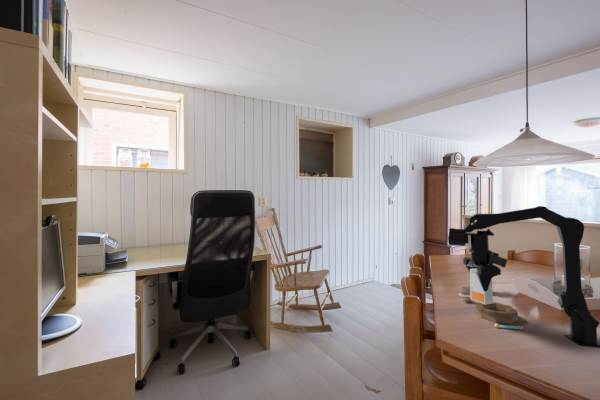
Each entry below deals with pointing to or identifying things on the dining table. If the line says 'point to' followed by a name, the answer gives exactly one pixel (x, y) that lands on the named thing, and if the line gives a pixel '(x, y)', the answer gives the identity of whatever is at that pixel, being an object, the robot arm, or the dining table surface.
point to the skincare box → (479, 289)
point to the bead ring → (497, 312)
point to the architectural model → (466, 294)
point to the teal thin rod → (508, 327)
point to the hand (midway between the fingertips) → (481, 288)
